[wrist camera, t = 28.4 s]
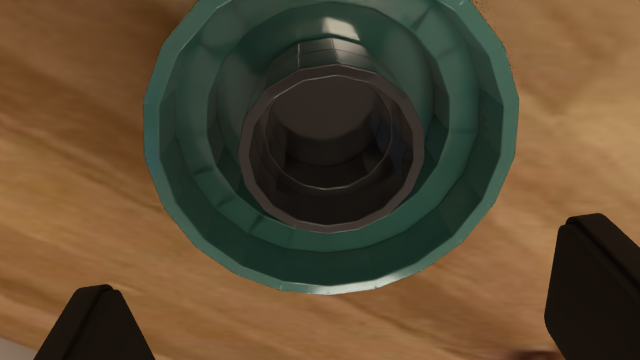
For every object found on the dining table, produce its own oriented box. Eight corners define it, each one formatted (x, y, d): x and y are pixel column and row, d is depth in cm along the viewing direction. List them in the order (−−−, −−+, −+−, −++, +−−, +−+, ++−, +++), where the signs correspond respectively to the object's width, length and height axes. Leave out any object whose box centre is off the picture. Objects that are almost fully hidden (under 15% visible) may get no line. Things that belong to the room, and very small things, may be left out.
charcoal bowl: (268, 185, 23) (260, 244, 18) (236, 49, 19) (217, 81, 15) (402, 166, 23) (426, 220, 18) (394, 24, 19) (421, 50, 15)
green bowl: (221, 241, 25) (202, 312, 20) (136, -25, 18) (78, -12, 14) (466, 207, 25) (505, 271, 20) (472, -81, 18) (536, -88, 13)
